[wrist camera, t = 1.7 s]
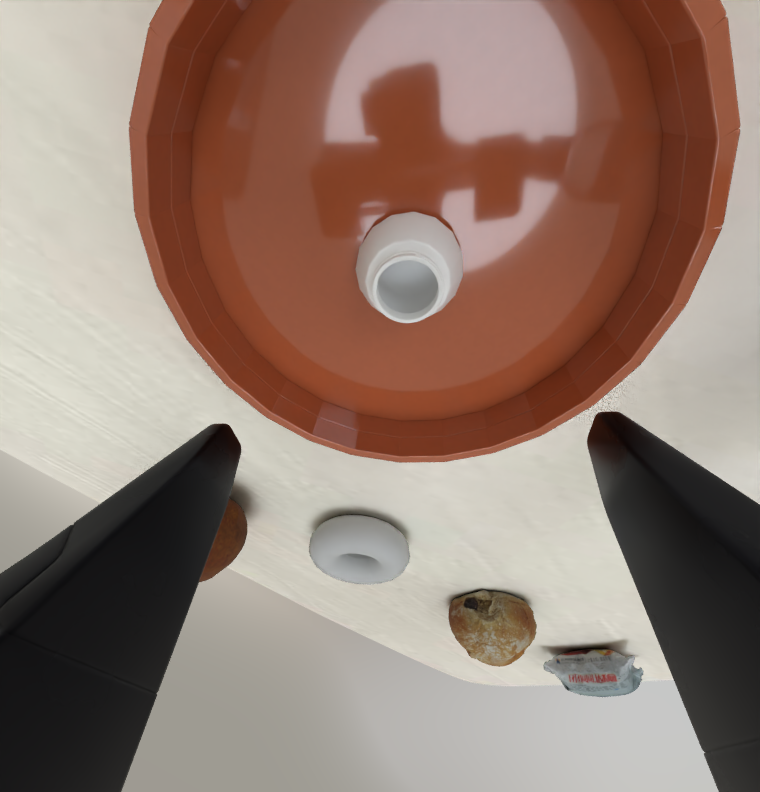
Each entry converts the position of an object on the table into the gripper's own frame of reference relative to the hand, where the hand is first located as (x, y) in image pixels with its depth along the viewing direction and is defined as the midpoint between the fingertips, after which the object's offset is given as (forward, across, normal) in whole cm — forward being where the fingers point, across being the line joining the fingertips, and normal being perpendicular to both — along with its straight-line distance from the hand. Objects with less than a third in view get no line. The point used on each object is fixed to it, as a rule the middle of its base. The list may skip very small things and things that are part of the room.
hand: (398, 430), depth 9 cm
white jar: (+11, 0, 0) cm, 11 cm away
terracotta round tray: (+12, 0, 0) cm, 12 cm away
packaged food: (+12, -22, +60) cm, 65 cm away
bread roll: (+12, -7, +44) cm, 46 cm away
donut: (+12, +7, +27) cm, 30 cm away
